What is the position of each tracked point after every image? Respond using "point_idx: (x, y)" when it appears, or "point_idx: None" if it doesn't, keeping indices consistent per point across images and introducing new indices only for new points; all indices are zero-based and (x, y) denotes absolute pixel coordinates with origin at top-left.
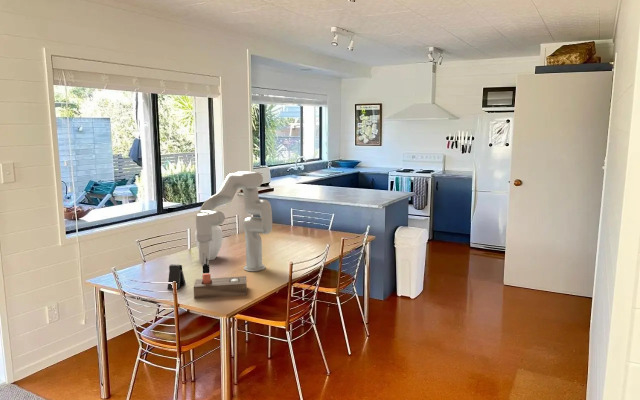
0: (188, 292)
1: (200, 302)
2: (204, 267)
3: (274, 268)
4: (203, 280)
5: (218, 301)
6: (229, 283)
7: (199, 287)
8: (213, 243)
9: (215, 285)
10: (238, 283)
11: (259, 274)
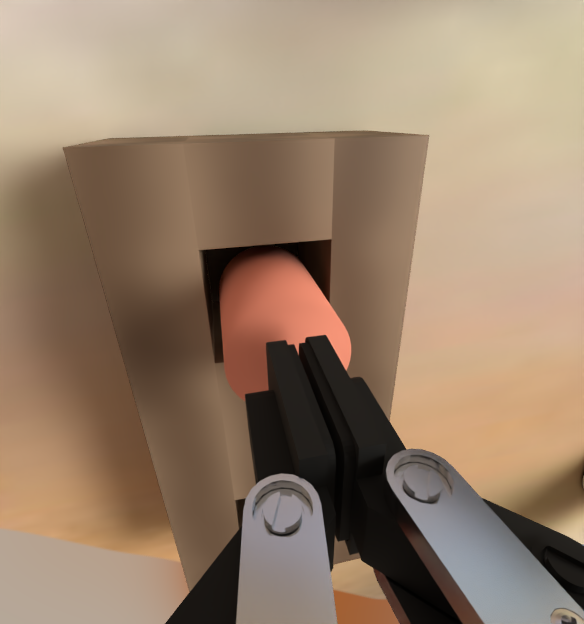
0: (315, 36)
1: None
2: (257, 471)
3: (578, 528)
4: (236, 289)
5: (44, 379)
6: (202, 507)
7: (93, 236)
8: None
9: (140, 415)
10: (197, 558)
11: (528, 492)
